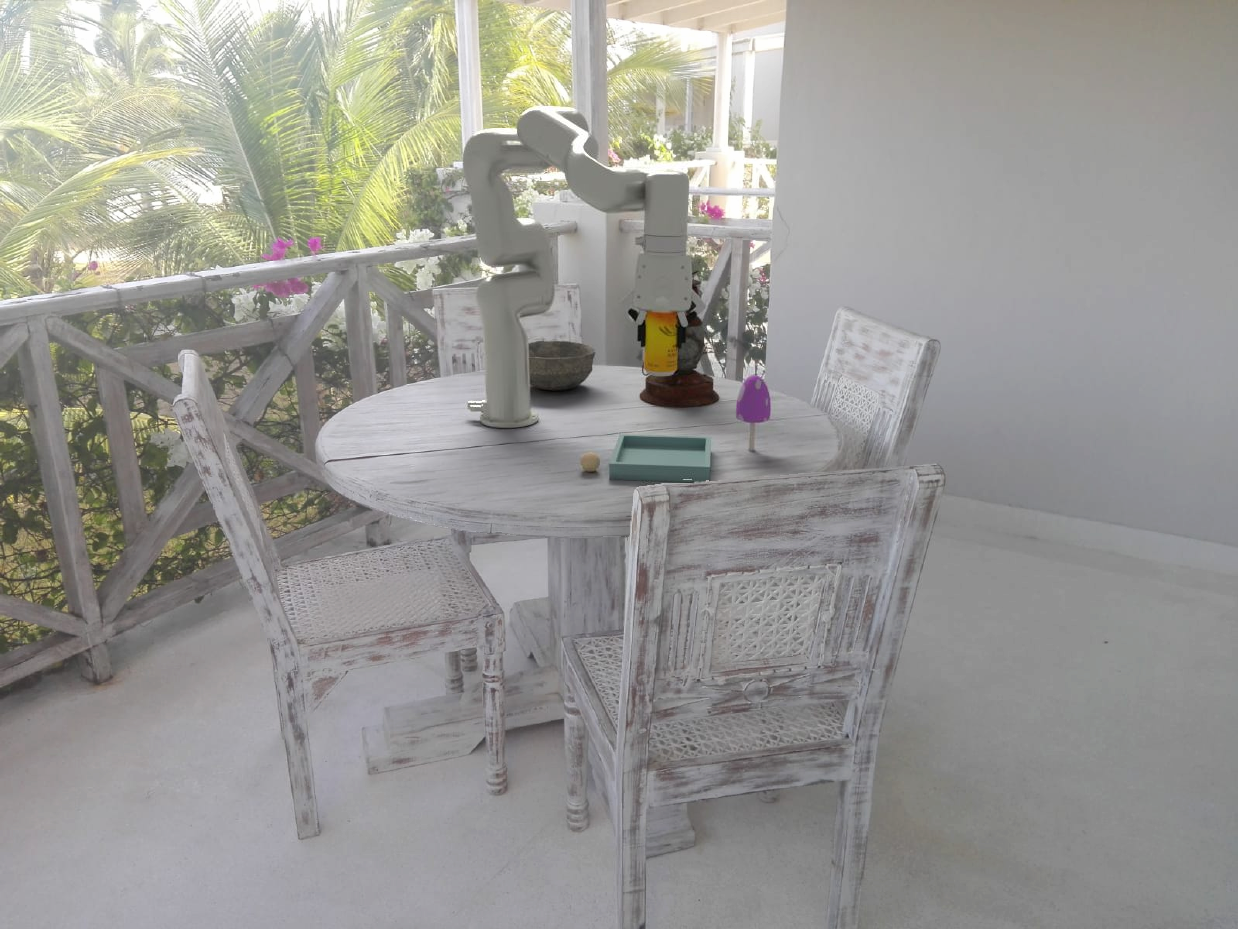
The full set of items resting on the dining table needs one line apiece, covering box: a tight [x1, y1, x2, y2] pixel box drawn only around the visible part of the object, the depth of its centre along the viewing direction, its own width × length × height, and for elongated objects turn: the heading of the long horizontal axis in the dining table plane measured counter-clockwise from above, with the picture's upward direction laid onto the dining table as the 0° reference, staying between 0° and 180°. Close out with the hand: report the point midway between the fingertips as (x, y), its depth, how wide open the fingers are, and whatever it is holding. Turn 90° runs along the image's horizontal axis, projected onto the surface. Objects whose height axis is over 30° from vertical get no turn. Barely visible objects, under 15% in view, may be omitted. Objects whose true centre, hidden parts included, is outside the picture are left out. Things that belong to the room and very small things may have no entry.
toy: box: [735, 374, 772, 452], centre depth 184 cm, size 7×7×15 cm
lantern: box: [639, 270, 720, 409], centre depth 220 cm, size 19×19×30 cm
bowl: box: [528, 340, 597, 391], centre depth 231 cm, size 21×21×10 cm
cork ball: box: [580, 451, 601, 473], centre depth 174 cm, size 4×4×4 cm
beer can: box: [643, 296, 679, 376], centre depth 170 cm, size 6×6×15 cm
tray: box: [608, 433, 712, 483], centre depth 177 cm, size 18×18×3 cm
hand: (661, 345), depth 171 cm, fingers closed on beer can, 6 cm apart
